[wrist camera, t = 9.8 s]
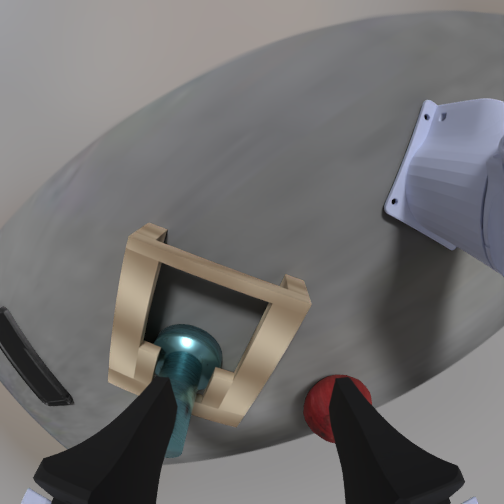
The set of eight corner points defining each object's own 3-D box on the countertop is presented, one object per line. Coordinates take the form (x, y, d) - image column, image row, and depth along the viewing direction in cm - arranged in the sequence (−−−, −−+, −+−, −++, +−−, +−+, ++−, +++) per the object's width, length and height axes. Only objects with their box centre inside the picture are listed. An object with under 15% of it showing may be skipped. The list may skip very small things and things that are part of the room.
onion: (296, 400, 25) (303, 467, 17) (304, 357, 23) (317, 430, 16) (352, 396, 25) (370, 458, 17) (366, 354, 23) (395, 420, 15)
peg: (147, 324, 22) (97, 410, 13) (215, 322, 22) (190, 421, 13) (165, 376, 24) (134, 460, 15) (227, 376, 24) (213, 470, 15)
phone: (45, 406, 28) (-17, 321, 23) (49, 401, 29) (-13, 317, 25) (73, 404, 27) (1, 307, 22) (77, 398, 28) (7, 302, 23)
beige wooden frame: (148, 222, 20) (128, 236, 16) (304, 280, 21) (311, 304, 17) (121, 358, 24) (107, 381, 21) (238, 399, 25) (236, 427, 22)
